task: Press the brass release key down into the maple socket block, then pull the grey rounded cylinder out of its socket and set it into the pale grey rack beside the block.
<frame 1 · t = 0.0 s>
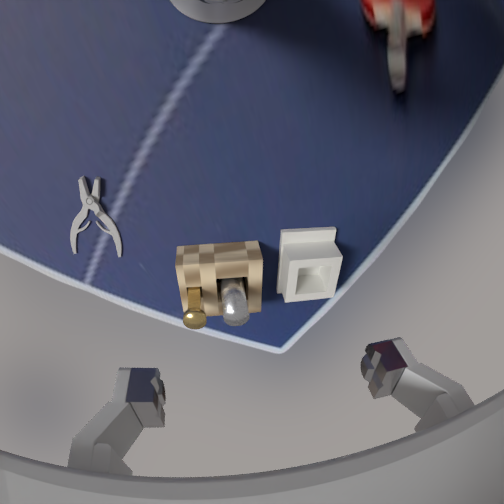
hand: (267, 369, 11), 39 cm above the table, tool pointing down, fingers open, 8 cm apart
release key: (194, 303, 50), point 8 cm above the table, slide at 0.0 cm
socket block: (219, 270, 57), on the table
drill rack: (304, 260, 59), on the table
grey rounded cylinder: (230, 269, 58), resting in socket block
pliers: (94, 216, 48), on the table
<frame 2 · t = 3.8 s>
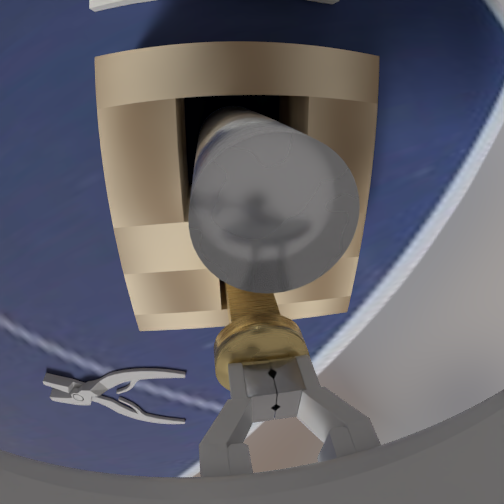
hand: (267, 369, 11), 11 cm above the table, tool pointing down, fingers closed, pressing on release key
release key: (248, 302, 15), point 7 cm above the table, slide at 1.4 cm, touching gripper
socket block: (233, 171, 18), on the table
grey rounded cylinder: (232, 139, 17), resting in socket block
pliers: (113, 389, 28), on the table
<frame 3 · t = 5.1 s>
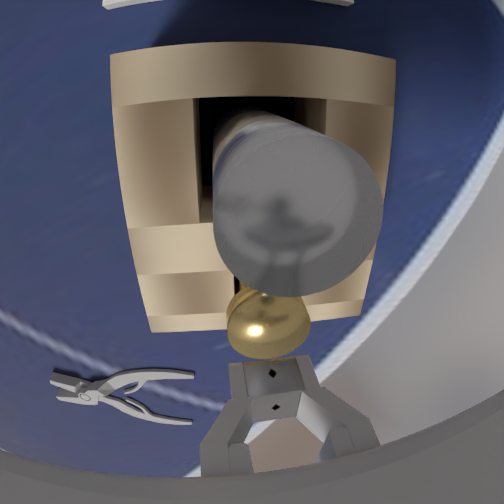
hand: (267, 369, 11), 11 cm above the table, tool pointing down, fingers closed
release key: (257, 278, 17), point 4 cm above the table, slide at 3.7 cm
socket block: (247, 172, 18), on the table
grey rounded cylinder: (247, 140, 17), resting in socket block
pliers: (121, 389, 28), on the table
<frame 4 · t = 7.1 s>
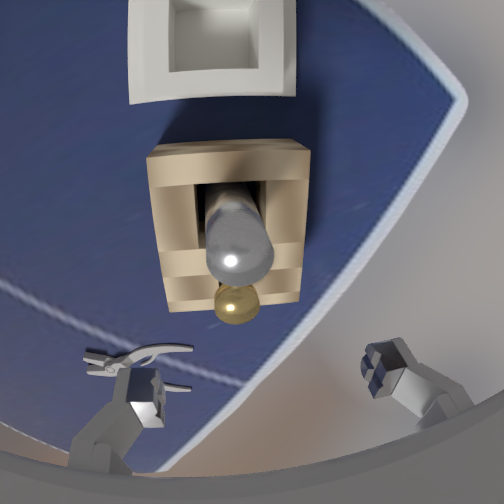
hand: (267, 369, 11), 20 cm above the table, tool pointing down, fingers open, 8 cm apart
release key: (232, 278, 28), point 4 cm above the table, slide at 3.7 cm
socket block: (227, 212, 30), on the table
drill rack: (211, 42, 22), on the table
grey rounded cylinder: (226, 192, 29), resting in socket block
pliers: (137, 363, 39), on the table
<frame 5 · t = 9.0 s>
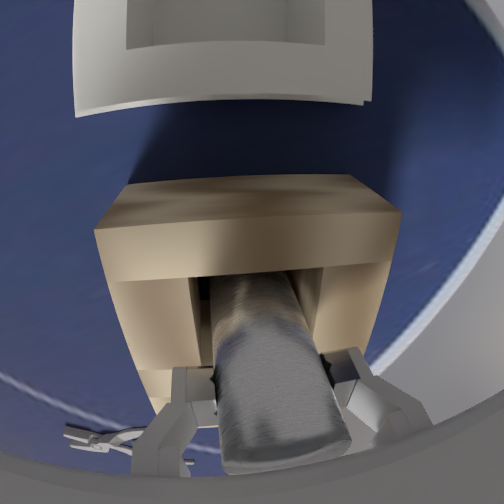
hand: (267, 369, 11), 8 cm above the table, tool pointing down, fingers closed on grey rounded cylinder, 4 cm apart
socket block: (243, 287, 19), on the table
drill rack: (219, 5, 11), on the table
grey rounded cylinder: (243, 259, 18), resting in socket block, touching gripper
pliers: (129, 438, 28), on the table
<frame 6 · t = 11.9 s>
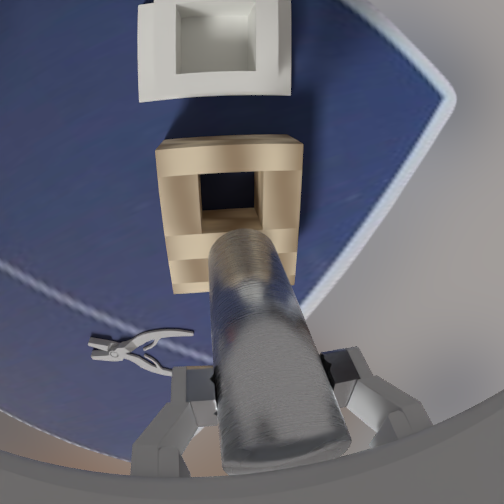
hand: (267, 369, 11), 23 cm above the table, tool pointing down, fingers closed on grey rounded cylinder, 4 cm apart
socket block: (228, 202, 32), on the table
drill rack: (214, 46, 24), on the table
grey rounded cylinder: (242, 259, 18), point 15 cm above the table, touching gripper
pliers: (140, 348, 41), on the table
when the fingers open (11 cm above the table, at t = 15.0 s): grey rounded cylinder drops 1 cm, resting on drill rack.
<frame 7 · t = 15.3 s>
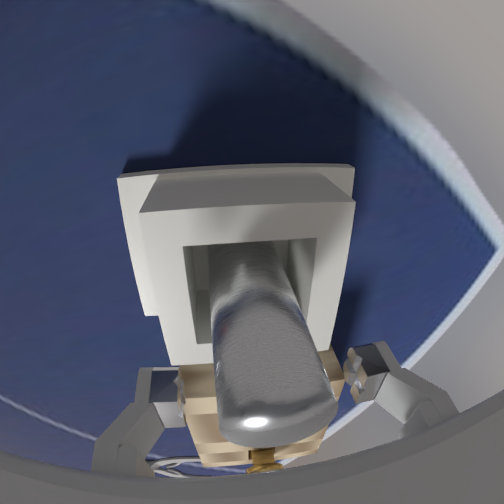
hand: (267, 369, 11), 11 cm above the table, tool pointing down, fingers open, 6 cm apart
release key: (259, 445, 27), point 4 cm above the table, slide at 3.7 cm
socket block: (253, 387, 28), on the table
drill rack: (239, 240, 20), on the table
grey rounded cylinder: (240, 248, 19), point 1 cm above the table, touching drill rack
pliers: (163, 463, 38), on the table
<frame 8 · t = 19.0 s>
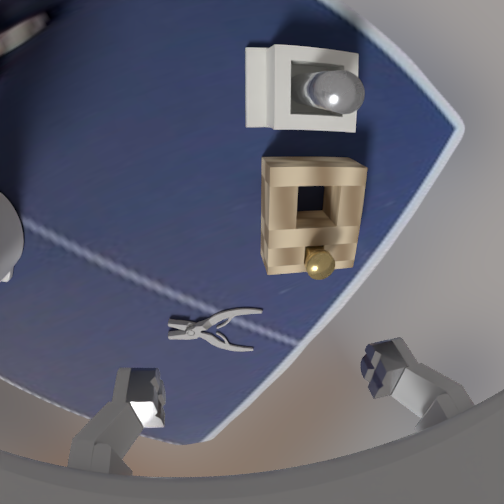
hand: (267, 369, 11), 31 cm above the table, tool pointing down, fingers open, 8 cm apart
release key: (311, 250, 41), point 4 cm above the table, slide at 3.7 cm
socket block: (304, 206, 42), on the table
drill rack: (301, 88, 34), on the table
grey rounded cylinder: (304, 88, 33), point 1 cm above the table, touching drill rack
pliers: (213, 326, 51), on the table
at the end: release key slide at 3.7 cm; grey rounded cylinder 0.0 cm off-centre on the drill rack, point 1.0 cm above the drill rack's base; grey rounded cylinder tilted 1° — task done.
